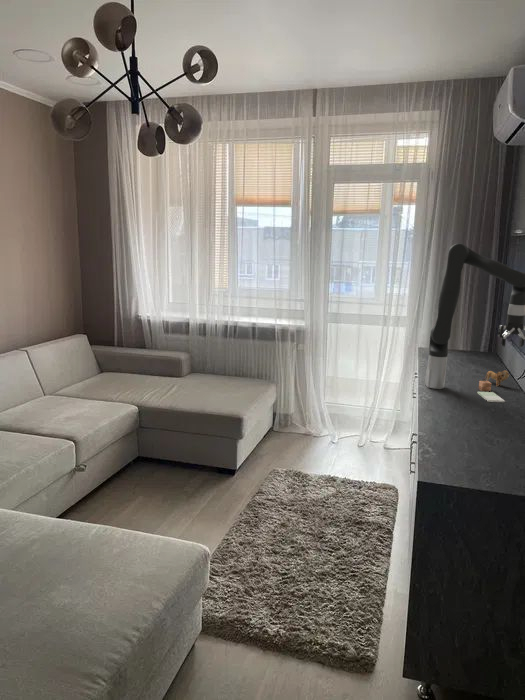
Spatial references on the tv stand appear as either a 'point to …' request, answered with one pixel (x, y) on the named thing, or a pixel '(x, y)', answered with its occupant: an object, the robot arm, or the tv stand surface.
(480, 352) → the tv stand surface
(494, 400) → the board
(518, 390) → the tv stand surface
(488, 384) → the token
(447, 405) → the tv stand surface
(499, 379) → the lion figurine
